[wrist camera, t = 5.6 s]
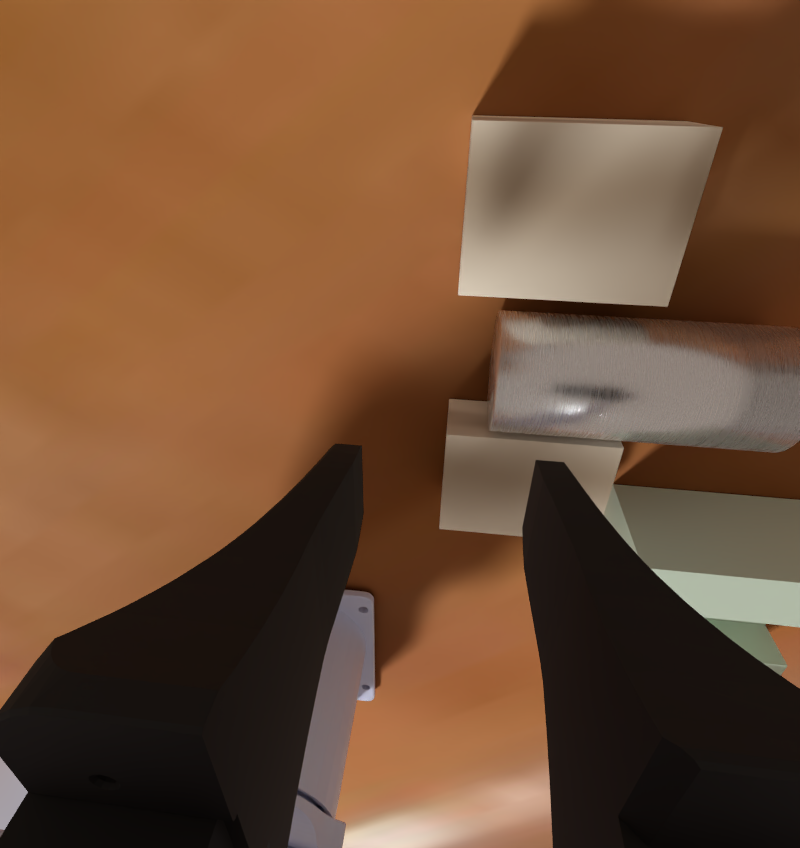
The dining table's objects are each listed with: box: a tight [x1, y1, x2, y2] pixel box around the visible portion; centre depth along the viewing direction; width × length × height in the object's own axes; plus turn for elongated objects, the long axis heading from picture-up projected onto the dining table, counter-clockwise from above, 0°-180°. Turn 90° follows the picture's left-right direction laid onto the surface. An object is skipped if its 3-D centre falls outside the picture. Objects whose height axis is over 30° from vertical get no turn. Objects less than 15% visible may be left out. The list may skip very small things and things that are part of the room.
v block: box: [604, 484, 800, 676], centre depth 22 cm, size 10×8×4 cm
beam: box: [439, 115, 723, 537], centre depth 18 cm, size 14×6×2 cm, turn 179°
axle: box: [487, 310, 800, 453], centre depth 17 cm, size 4×9×4 cm, turn 89°
